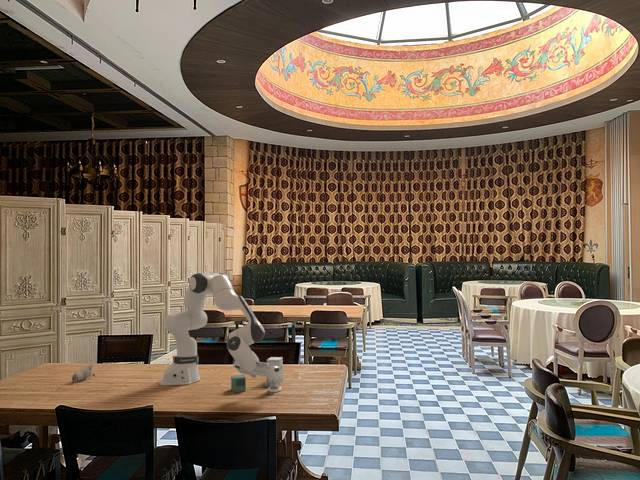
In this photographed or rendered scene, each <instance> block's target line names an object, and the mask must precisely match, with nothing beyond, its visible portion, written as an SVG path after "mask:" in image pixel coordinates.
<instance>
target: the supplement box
mask: <svg viewBox="0 0 640 480" xmlns="http://www.w3.org/2000/svg"><path fill="white" fill-rule="evenodd" d="M283 362H284V360H283V356H280V357H279V356H278V357H277V356H271V357H269V358H267V359H266V363H268V364H269V365H270V366H275V365H276V366H279V384H280V383H281V382H282V381H283V380H284V367H283V365H284V364H283ZM267 382H270V380H268V379H267V378H266V383H267Z"/></svg>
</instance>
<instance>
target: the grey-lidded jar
mask: <svg viewBox="0 0 640 480" xmlns="http://www.w3.org/2000/svg"><path fill="white" fill-rule="evenodd" d="M271 367H272V368H273V369H274V370H275V372H274V375H273V376H272V378H271V380H270V389H279V387H280V383H279V366H276V365H275V366H271Z"/></svg>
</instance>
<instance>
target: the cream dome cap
mask: <svg viewBox="0 0 640 480" xmlns="http://www.w3.org/2000/svg"><path fill="white" fill-rule="evenodd" d="M282 388H283V387H281V386H279V389H270V387H269V388H267V392H269V393H279V392H282V391H283V390H282Z"/></svg>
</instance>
